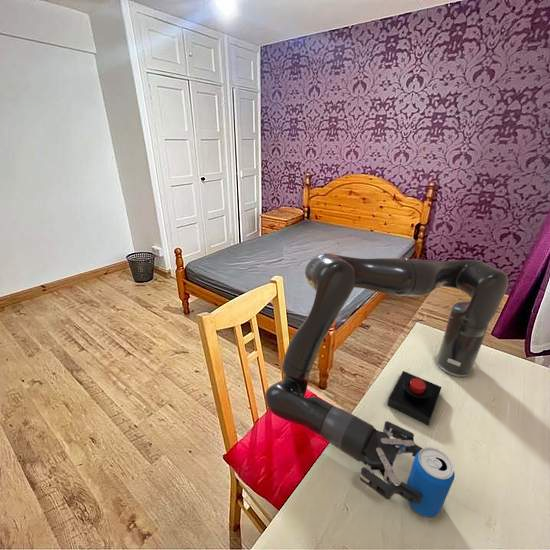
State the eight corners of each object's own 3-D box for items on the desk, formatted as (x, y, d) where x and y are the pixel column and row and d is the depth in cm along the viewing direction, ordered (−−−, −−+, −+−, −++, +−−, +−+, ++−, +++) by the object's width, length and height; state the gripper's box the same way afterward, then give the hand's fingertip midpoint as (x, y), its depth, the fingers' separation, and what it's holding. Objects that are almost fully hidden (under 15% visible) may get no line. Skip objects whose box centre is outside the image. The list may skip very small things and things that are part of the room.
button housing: (387, 405, 79) (389, 393, 77) (401, 377, 88) (404, 365, 86) (428, 426, 74) (432, 413, 72) (439, 394, 82) (443, 381, 80)
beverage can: (444, 523, 56) (461, 485, 51) (407, 515, 57) (420, 477, 52) (435, 486, 62) (450, 448, 56) (401, 479, 63) (412, 442, 57)
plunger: (407, 389, 79) (408, 384, 78) (411, 381, 81) (412, 376, 80) (422, 396, 77) (423, 391, 76) (425, 387, 79) (427, 382, 78)
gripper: (332, 446, 59) (421, 502, 50) (362, 398, 69) (440, 438, 60) (330, 469, 62) (412, 526, 53) (358, 420, 72) (432, 461, 63)
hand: (427, 479), depth 57 cm, fingers open, 8 cm apart
